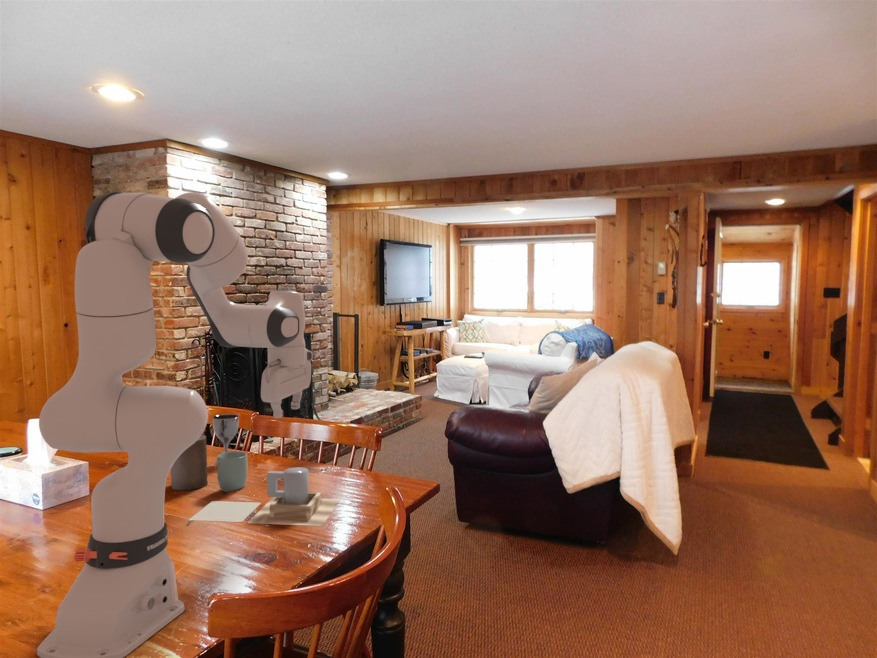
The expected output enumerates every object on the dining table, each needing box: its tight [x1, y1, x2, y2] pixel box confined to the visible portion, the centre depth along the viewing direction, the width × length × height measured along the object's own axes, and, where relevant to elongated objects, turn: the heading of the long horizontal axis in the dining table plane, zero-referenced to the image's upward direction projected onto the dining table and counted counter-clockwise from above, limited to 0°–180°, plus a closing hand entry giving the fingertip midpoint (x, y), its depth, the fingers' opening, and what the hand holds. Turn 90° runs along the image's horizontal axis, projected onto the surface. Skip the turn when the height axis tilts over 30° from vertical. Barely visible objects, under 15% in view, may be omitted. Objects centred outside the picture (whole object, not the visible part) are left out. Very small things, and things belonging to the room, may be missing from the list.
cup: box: [216, 450, 248, 493], centre depth 165 cm, size 8×8×10 cm
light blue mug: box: [266, 466, 310, 505], centre depth 148 cm, size 6×10×10 cm, turn 86°
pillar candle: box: [170, 434, 209, 491], centre depth 169 cm, size 10×10×15 cm
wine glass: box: [212, 413, 240, 465], centre depth 192 cm, size 8×8×15 cm
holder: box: [247, 491, 341, 527], centre depth 148 cm, size 18×18×4 cm
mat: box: [187, 500, 262, 525], centre depth 147 cm, size 13×13×1 cm
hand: (287, 413), depth 145 cm, fingers open, 8 cm apart
